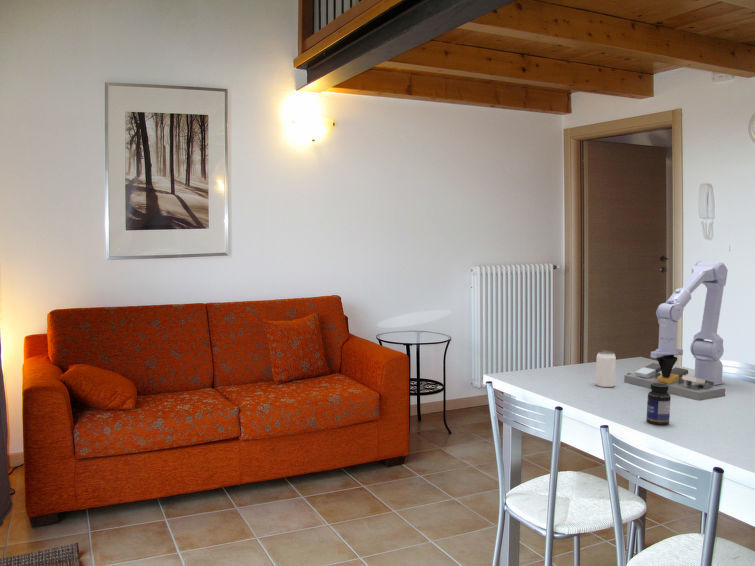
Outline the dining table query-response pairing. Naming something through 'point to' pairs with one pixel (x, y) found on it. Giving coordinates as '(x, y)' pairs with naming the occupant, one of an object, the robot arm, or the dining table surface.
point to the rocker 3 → (697, 380)
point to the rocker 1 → (648, 370)
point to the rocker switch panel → (679, 387)
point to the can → (605, 369)
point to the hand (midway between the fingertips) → (665, 376)
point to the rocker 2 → (673, 375)
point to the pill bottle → (658, 404)
